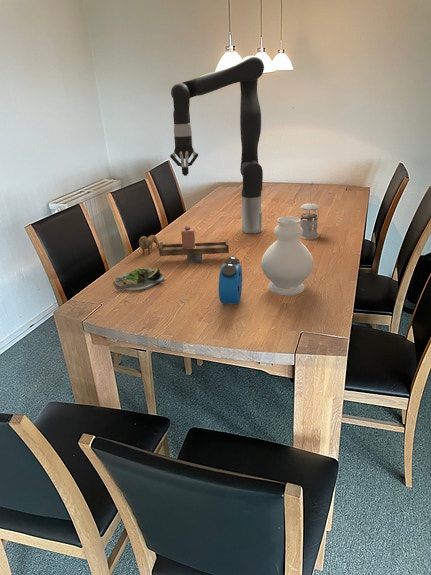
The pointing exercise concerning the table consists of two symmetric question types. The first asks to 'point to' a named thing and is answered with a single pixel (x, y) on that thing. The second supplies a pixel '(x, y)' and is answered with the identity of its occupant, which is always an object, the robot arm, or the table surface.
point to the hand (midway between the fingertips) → (185, 175)
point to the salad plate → (139, 279)
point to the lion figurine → (147, 243)
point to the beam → (194, 250)
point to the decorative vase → (287, 259)
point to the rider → (188, 237)
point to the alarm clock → (230, 281)
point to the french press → (309, 220)
